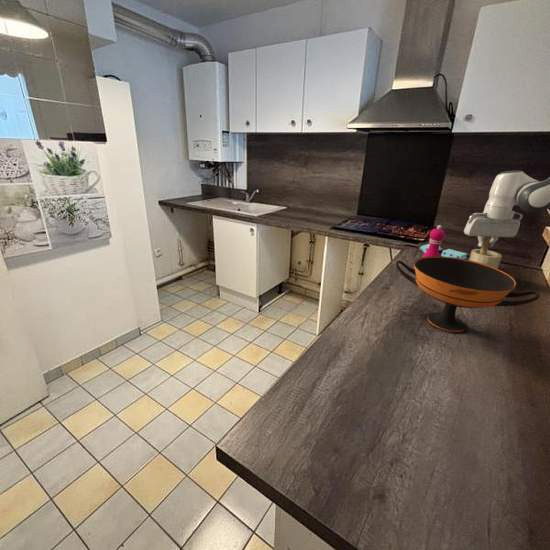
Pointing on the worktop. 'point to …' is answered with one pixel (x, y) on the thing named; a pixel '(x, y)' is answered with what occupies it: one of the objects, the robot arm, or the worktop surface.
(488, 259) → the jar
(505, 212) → the robot arm
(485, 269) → the cup
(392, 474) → the worktop surface
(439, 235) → the pepper mill
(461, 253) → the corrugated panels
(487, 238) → the brush
